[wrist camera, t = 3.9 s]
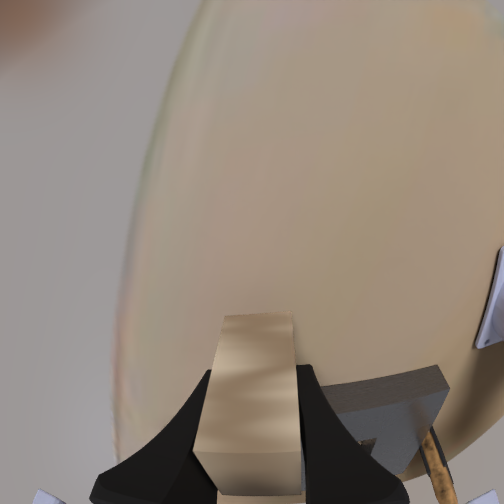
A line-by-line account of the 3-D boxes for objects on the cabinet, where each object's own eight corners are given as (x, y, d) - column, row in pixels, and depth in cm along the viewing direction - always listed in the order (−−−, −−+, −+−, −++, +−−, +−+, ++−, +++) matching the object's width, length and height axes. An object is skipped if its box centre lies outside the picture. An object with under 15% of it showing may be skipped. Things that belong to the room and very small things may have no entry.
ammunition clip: (443, 452, 23) (466, 529, 12) (429, 459, 24) (450, 536, 13) (431, 423, 20) (464, 526, 9) (413, 432, 21) (442, 536, 10)
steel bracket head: (437, 364, 17) (450, 388, 15) (398, 454, 22) (402, 472, 20) (167, 391, 19) (158, 417, 17) (211, 471, 24) (208, 490, 22)
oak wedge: (291, 311, 13) (301, 451, 6) (295, 372, 14) (301, 494, 8) (224, 316, 13) (192, 450, 7) (238, 376, 15) (222, 494, 8)
